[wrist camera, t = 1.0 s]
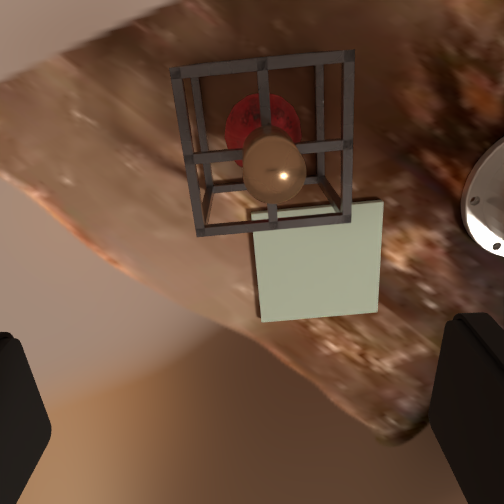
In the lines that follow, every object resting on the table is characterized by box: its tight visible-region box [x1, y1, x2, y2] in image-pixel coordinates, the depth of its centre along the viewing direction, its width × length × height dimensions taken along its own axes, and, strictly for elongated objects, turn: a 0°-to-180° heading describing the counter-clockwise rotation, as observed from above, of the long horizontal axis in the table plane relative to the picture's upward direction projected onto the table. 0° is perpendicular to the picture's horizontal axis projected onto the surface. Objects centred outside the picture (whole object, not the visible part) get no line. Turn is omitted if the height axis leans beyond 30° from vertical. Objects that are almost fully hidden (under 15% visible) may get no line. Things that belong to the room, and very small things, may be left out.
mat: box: [251, 200, 384, 322], centre depth 39 cm, size 12×12×1 cm
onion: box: [225, 93, 302, 167], centre depth 30 cm, size 6×6×8 cm
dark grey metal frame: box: [169, 49, 355, 237], centre depth 27 cm, size 10×10×15 cm
